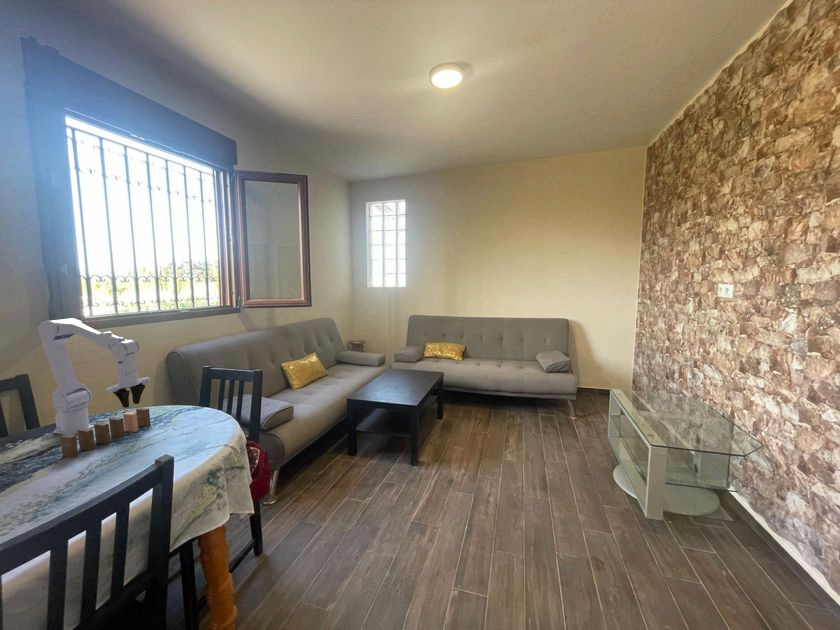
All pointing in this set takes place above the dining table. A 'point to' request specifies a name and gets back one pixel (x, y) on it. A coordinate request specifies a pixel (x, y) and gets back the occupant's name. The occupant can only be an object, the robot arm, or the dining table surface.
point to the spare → (130, 422)
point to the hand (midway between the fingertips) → (131, 405)
